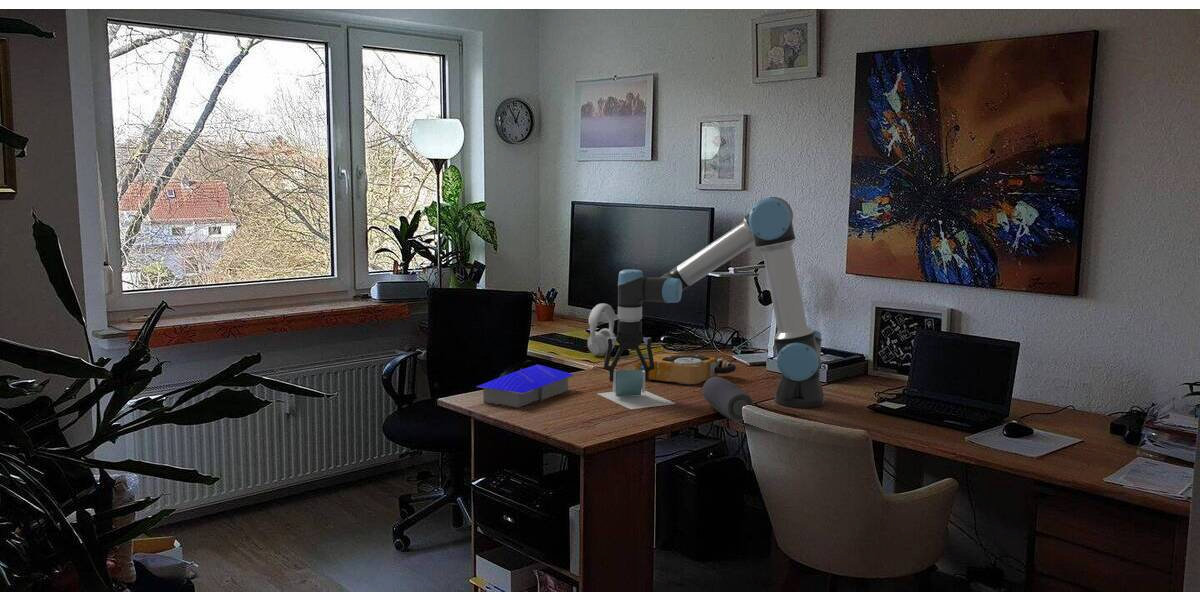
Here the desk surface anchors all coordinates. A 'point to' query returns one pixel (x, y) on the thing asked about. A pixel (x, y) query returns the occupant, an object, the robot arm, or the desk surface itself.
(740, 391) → the bluetooth speaker
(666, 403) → the mat
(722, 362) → the device
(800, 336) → the robot arm
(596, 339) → the headphones
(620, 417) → the desk surface
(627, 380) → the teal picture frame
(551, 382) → the blue topped grey box
